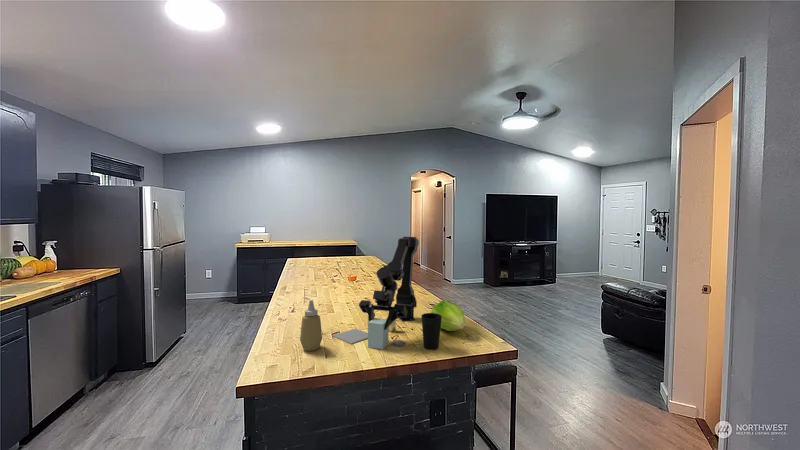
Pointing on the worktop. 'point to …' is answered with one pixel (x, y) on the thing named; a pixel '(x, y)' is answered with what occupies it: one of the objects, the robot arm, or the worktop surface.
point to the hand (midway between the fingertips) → (377, 328)
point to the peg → (392, 327)
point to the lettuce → (449, 315)
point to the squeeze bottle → (311, 329)
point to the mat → (352, 336)
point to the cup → (431, 330)
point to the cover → (377, 334)
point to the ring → (398, 343)
